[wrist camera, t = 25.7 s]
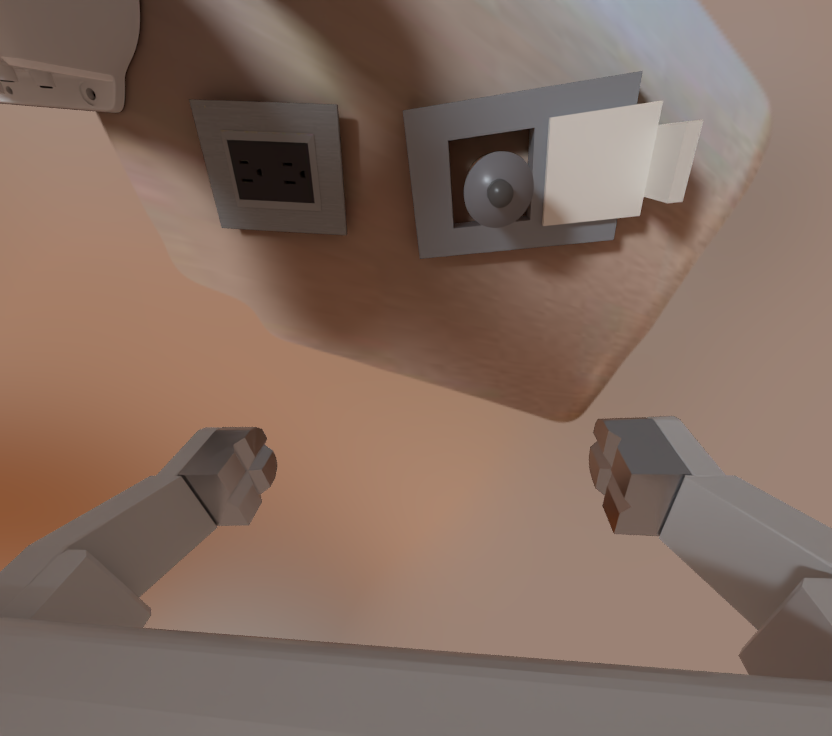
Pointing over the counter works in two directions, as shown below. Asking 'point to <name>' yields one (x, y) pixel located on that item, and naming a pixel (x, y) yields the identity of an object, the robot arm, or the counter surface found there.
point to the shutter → (615, 163)
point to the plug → (498, 189)
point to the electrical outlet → (273, 164)
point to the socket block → (520, 112)
